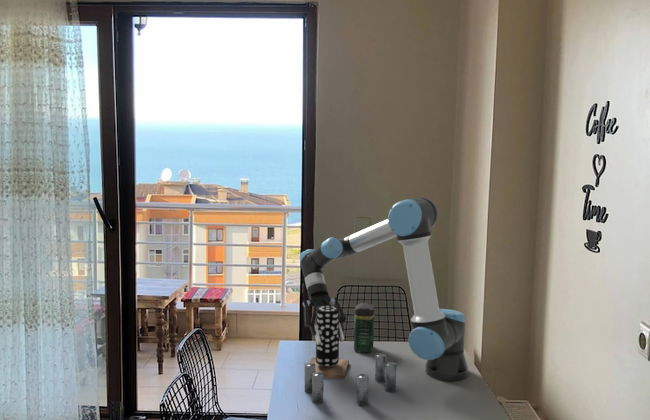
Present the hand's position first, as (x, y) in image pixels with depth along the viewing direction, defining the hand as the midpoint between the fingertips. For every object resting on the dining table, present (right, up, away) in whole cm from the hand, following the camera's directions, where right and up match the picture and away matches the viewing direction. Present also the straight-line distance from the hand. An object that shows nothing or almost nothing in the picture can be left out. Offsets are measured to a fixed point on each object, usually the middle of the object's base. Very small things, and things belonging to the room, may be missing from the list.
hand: (330, 341), depth 194 cm
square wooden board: (-1, -11, +4) cm, 12 cm away
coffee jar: (+14, -9, +25) cm, 30 cm away
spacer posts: (+7, -13, -13) cm, 20 cm away
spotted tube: (-1, -8, +4) cm, 9 cm away
